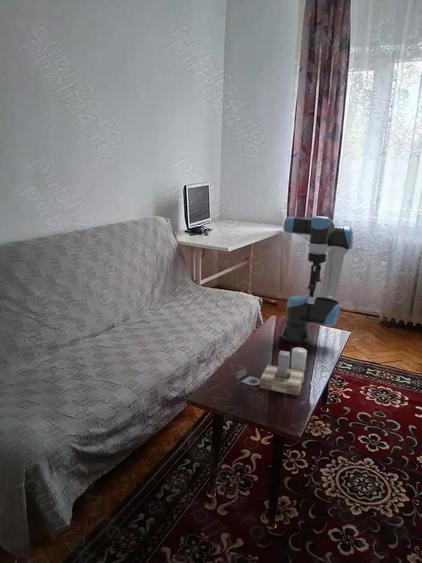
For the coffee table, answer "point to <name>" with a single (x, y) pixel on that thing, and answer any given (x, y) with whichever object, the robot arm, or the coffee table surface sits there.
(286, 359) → the grey long block
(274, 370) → the socket block
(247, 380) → the bracket
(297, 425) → the coffee table surface
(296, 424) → the coffee table surface
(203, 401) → the coffee table surface
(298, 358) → the plastic dowel
